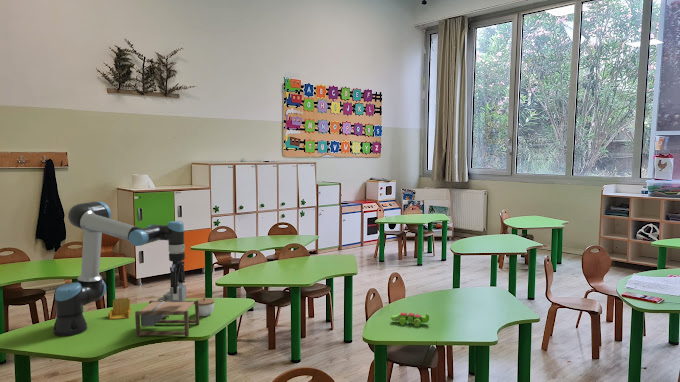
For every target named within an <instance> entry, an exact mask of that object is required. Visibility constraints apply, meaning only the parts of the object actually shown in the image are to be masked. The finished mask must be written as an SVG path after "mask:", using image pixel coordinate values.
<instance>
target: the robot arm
mask: <svg viewBox="0 0 680 382" xmlns="http://www.w3.org/2000/svg"><path fill="white" fill-rule="evenodd" d="M111 217H112V210H111V208H110V207H109V206H108V204H107V203H106V202H104V201H91V202H85V203H77V204H75V205H73V206H71V208H70V209H69V211H68V214H67V219H68V221H69V223H70V224H71V225H72V226H74V227H75V228H78V229H82V230H83V238H82V239H83V240H82V253H81V256H82V257H81V267H80V268H81V271H80V274H79V276H77V281H76V282H68V283H64V284H61V285H59V286H58V287H57V288H56V289H55V291H54V300H55V304H54V305H55V317H56V318H55V321H54V325H53V329H52V334H53V335H54V336H56V337H68V336H74V335H78V334H81V333H84V332H85V331H86V330H87V329H88V323H87V321H86V319H85V316H84V313H83V306H87V305H89V304H91V303H95V302H97V301H98V300H101V299H102V298H103V297H104V295H105V294H106V293H107V292H106V291H107V285H106V283H105V281H104V280H103V277H102V275H100V266H101V252H102V235H103V234H104V235H108V236H112V237H115V238H117V239H122V240H125V241H128V242H129V243H130V244H131V245H132V246H134V247H139V246H140V247H141V246H144V245H147V244H150V243H154V242H157V241H158V242H159V241H168V260H169V261H170V262H172V264H171V266H170V267H169V270H170V271H169V272H170V288H171V287H173V300H179V287H178V285H184V283H185V282H186V279H185V278H186V277H185V259H186V253H185V250H186V245H185V227H184V222H183V221H182V220H177V221H176V220H174V221H172V220H171V221H169V222H167V224H166V225H165V224H149V225H147V227H144V228H143V227H139V226H135V225H133V224H130V223H125V222H123V221H119V220H116V219H112V218H111Z"/></svg>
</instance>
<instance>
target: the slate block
mask: <svg viewBox="0 0 680 382" xmlns="http://www.w3.org/2000/svg"><path fill="white" fill-rule="evenodd" d="M178 287H179V300H173V287H170V288H169V291H170V302H183V301H186V300H187V285H186V284H183V285H178Z"/></svg>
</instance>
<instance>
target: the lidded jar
mask: <svg viewBox="0 0 680 382" xmlns="http://www.w3.org/2000/svg"><path fill="white" fill-rule="evenodd" d="M194 301H199V317H207V316H210V315H211V314H212V313H213V312H214V309H215V299H214V298H211V297H201V298H198V299H195V300H194Z"/></svg>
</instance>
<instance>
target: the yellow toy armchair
mask: <svg viewBox="0 0 680 382" xmlns="http://www.w3.org/2000/svg"><path fill="white" fill-rule="evenodd" d="M132 313H133V312H132V307H131V299H130V298H128V297H122V298H115V299H113V300H112V309H111V310H110V311H109V312H108V314H107V315H108V316H107V319H108V321H109V320H112V321H113V320H114V321H115V320H116V321H117V320H126V319H129V318H130V317H131V315H132Z"/></svg>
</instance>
